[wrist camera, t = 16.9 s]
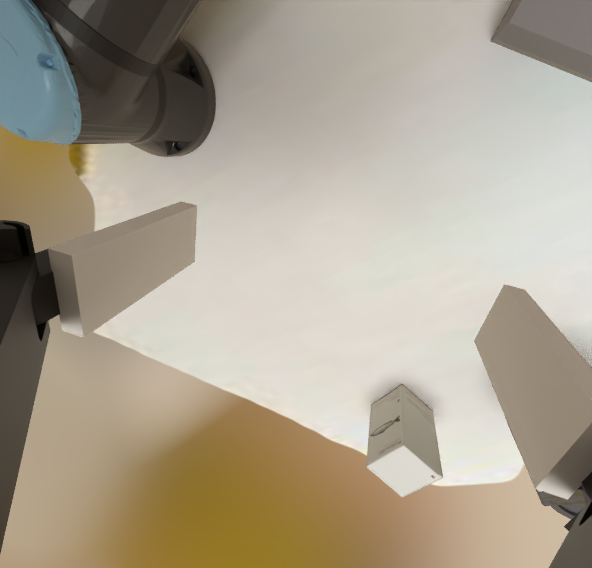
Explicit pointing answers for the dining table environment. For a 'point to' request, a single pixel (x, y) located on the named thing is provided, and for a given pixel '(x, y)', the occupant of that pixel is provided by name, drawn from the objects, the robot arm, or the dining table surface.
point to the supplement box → (403, 442)
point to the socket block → (550, 33)
